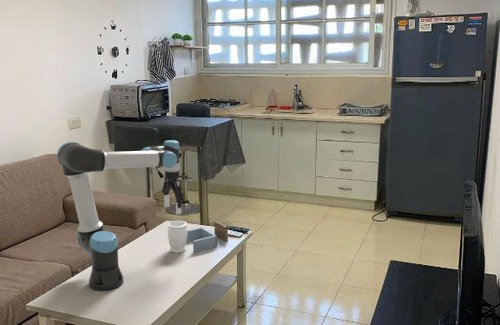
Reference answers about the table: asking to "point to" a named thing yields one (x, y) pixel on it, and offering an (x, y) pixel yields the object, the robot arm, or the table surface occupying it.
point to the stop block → (221, 231)
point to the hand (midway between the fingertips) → (172, 210)
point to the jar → (177, 236)
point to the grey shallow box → (204, 243)
